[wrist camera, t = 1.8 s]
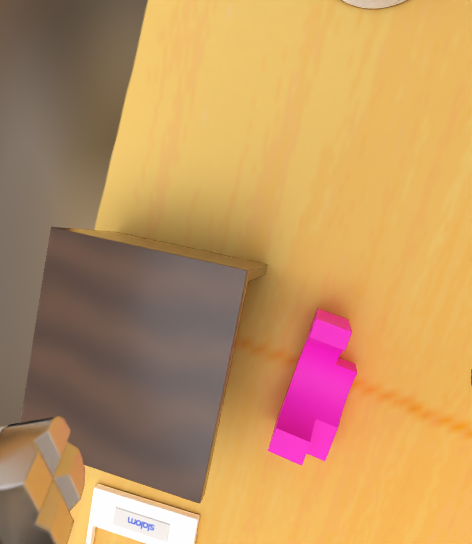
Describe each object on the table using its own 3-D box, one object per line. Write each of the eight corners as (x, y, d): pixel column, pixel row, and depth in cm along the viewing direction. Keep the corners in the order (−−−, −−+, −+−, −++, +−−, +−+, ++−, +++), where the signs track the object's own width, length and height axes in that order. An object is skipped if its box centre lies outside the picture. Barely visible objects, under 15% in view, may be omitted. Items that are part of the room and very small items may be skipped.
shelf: (116, 232, 55) (50, 226, 42) (267, 264, 51) (247, 270, 38) (88, 397, 57) (16, 442, 44) (231, 440, 53) (200, 504, 40)
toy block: (325, 442, 51) (325, 475, 43) (276, 422, 52) (267, 450, 45) (369, 327, 49) (376, 341, 42) (317, 308, 50) (315, 318, 43)
